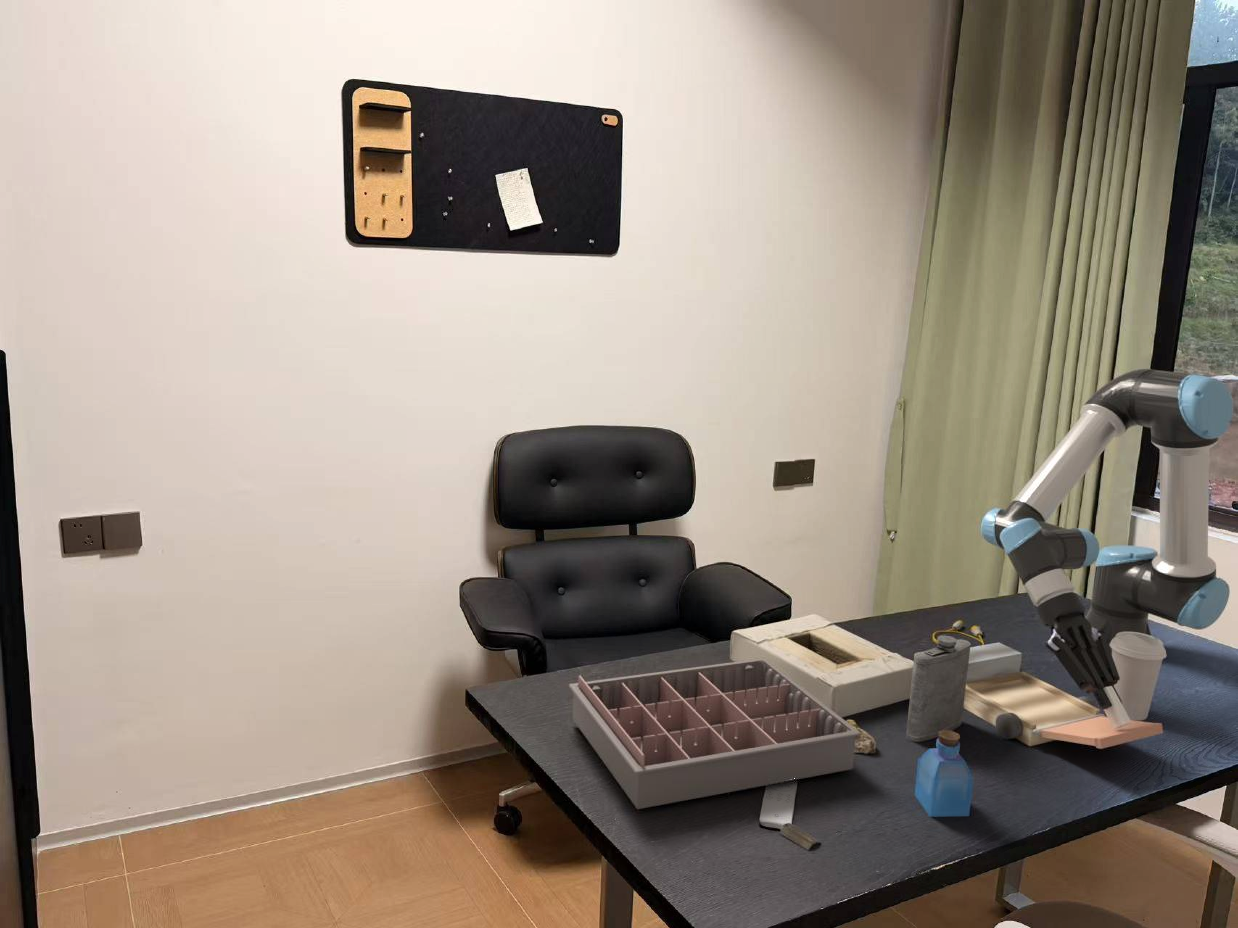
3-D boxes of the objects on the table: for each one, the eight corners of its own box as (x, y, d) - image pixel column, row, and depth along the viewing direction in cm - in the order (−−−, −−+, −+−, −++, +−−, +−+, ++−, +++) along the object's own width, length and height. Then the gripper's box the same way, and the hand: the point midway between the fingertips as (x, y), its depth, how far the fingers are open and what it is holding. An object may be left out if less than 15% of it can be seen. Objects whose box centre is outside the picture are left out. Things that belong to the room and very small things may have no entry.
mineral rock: (810, 724, 173) (842, 703, 177) (813, 743, 175) (844, 722, 179) (856, 752, 165) (888, 729, 168) (858, 772, 166) (890, 749, 170)
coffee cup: (1163, 727, 181) (1175, 651, 178) (1108, 720, 183) (1119, 646, 180) (1147, 704, 190) (1158, 632, 187) (1094, 699, 192) (1105, 627, 189)
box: (921, 699, 191) (810, 641, 218) (925, 662, 190) (812, 609, 216) (833, 726, 179) (727, 662, 206) (837, 687, 178) (729, 627, 204)
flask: (968, 724, 180) (979, 633, 176) (919, 745, 171) (929, 649, 168) (951, 717, 183) (961, 626, 179) (902, 736, 174) (912, 642, 170)
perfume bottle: (914, 794, 155) (921, 725, 153) (952, 794, 156) (959, 725, 153) (929, 816, 149) (937, 744, 147) (968, 815, 150) (977, 744, 147)
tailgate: (1031, 729, 172) (1095, 738, 160) (1100, 713, 179) (1165, 721, 167) (1033, 739, 171) (1096, 749, 159) (1101, 722, 178) (1167, 731, 167)
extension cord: (1005, 643, 221) (1006, 635, 220) (962, 657, 212) (963, 648, 212) (960, 626, 231) (961, 618, 230) (917, 638, 222) (917, 630, 221)
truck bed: (926, 692, 193) (930, 654, 191) (1005, 676, 201) (1010, 640, 200) (1020, 748, 171) (1026, 706, 170) (1105, 727, 180) (1111, 687, 179)
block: (807, 859, 140) (808, 848, 139) (775, 837, 144) (776, 827, 143) (823, 847, 142) (824, 837, 141) (791, 826, 146) (791, 816, 146)
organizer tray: (858, 778, 160) (864, 722, 158) (633, 821, 146) (636, 760, 144) (762, 695, 189) (765, 647, 187) (566, 725, 175) (568, 673, 173)
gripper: (1067, 604, 181) (1133, 726, 170) (1015, 612, 176) (1079, 739, 164) (1095, 586, 175) (1165, 711, 164) (1042, 594, 170) (1111, 724, 159)
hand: (1122, 725), depth 164 cm, fingers closed
